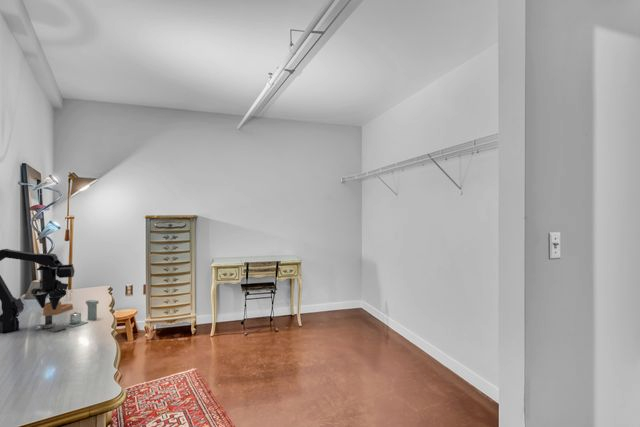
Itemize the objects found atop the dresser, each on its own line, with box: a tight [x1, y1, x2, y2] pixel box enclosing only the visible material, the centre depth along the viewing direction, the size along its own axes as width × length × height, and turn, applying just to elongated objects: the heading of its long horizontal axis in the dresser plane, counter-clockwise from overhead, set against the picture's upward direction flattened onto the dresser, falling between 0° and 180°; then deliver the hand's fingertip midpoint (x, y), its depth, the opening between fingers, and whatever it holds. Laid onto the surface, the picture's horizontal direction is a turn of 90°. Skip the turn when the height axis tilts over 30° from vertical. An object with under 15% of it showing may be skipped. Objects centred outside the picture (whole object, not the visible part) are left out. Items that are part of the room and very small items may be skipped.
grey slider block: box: [34, 315, 56, 330], centre depth 170 cm, size 8×4×6 cm, turn 159°
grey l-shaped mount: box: [62, 299, 99, 329], centre depth 182 cm, size 14×8×10 cm, turn 159°
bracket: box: [42, 300, 74, 316], centre depth 203 cm, size 18×8×7 cm, turn 2°
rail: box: [38, 324, 67, 333], centre depth 171 cm, size 5×13×2 cm, turn 69°
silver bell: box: [69, 311, 82, 325], centre depth 180 cm, size 5×5×6 cm
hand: (48, 308), depth 172 cm, fingers open, 9 cm apart
